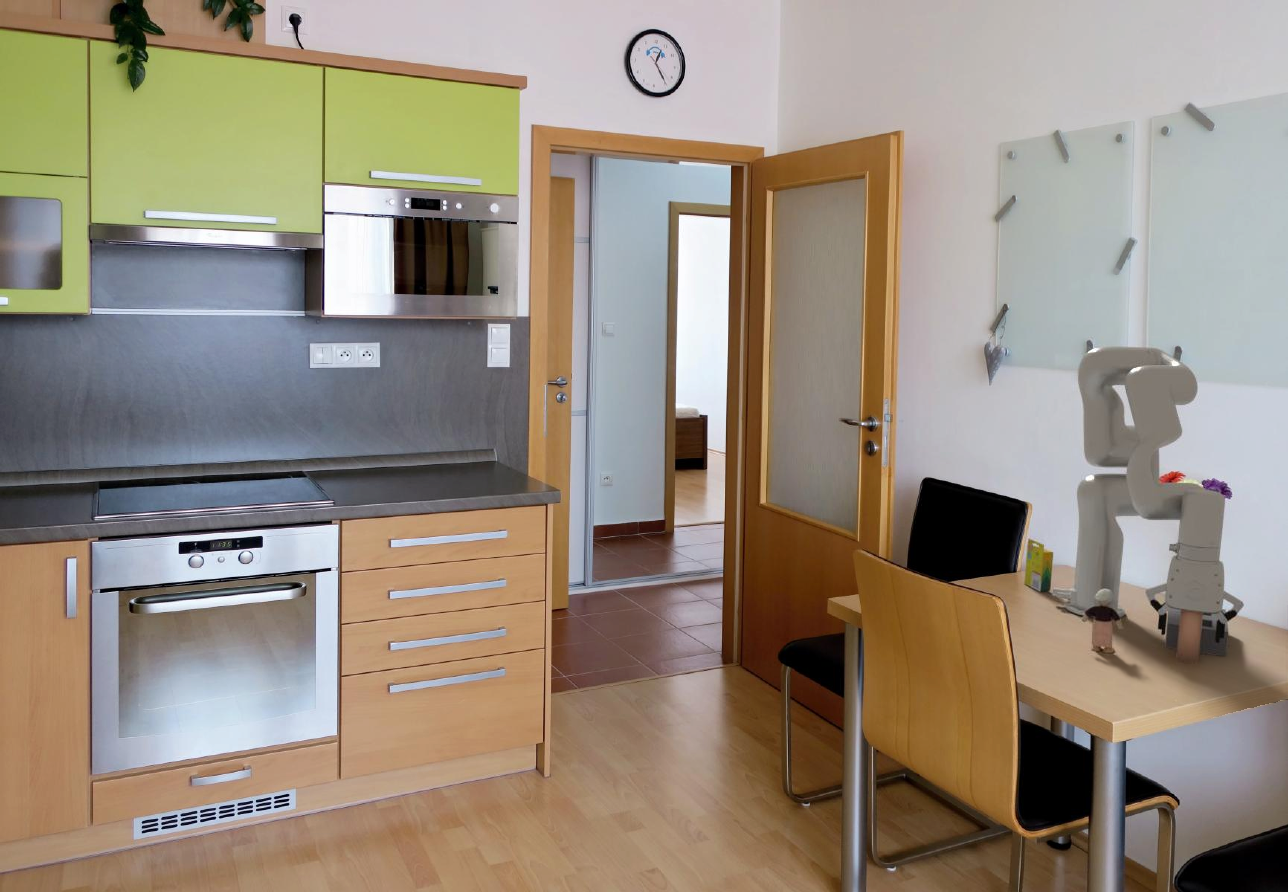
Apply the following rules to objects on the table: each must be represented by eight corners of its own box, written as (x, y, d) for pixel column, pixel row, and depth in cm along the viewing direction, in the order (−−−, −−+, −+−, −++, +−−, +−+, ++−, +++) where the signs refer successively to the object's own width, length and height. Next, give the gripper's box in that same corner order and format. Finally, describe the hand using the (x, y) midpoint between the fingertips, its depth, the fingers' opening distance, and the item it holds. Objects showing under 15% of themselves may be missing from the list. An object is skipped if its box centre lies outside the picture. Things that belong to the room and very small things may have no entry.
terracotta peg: (1175, 660, 216) (1181, 606, 214) (1176, 654, 219) (1181, 601, 218) (1198, 663, 214) (1204, 609, 212) (1198, 657, 218) (1203, 604, 216)
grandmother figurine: (1119, 649, 222) (1124, 588, 220) (1120, 655, 218) (1126, 593, 216) (1078, 644, 224) (1083, 584, 222) (1079, 649, 220) (1084, 589, 219)
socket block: (1165, 646, 224) (1167, 623, 223) (1166, 623, 240) (1169, 601, 239) (1225, 656, 219) (1228, 632, 218) (1223, 631, 235) (1225, 609, 234)
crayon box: (1050, 591, 263) (1054, 544, 262) (1039, 592, 263) (1043, 545, 261) (1034, 583, 270) (1038, 537, 269) (1023, 583, 270) (1027, 538, 268)
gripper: (1149, 551, 214) (1141, 635, 216) (1249, 562, 206) (1240, 649, 209) (1150, 543, 221) (1142, 625, 223) (1247, 554, 213) (1238, 639, 215)
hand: (1189, 637), depth 216 cm, fingers open, 9 cm apart
